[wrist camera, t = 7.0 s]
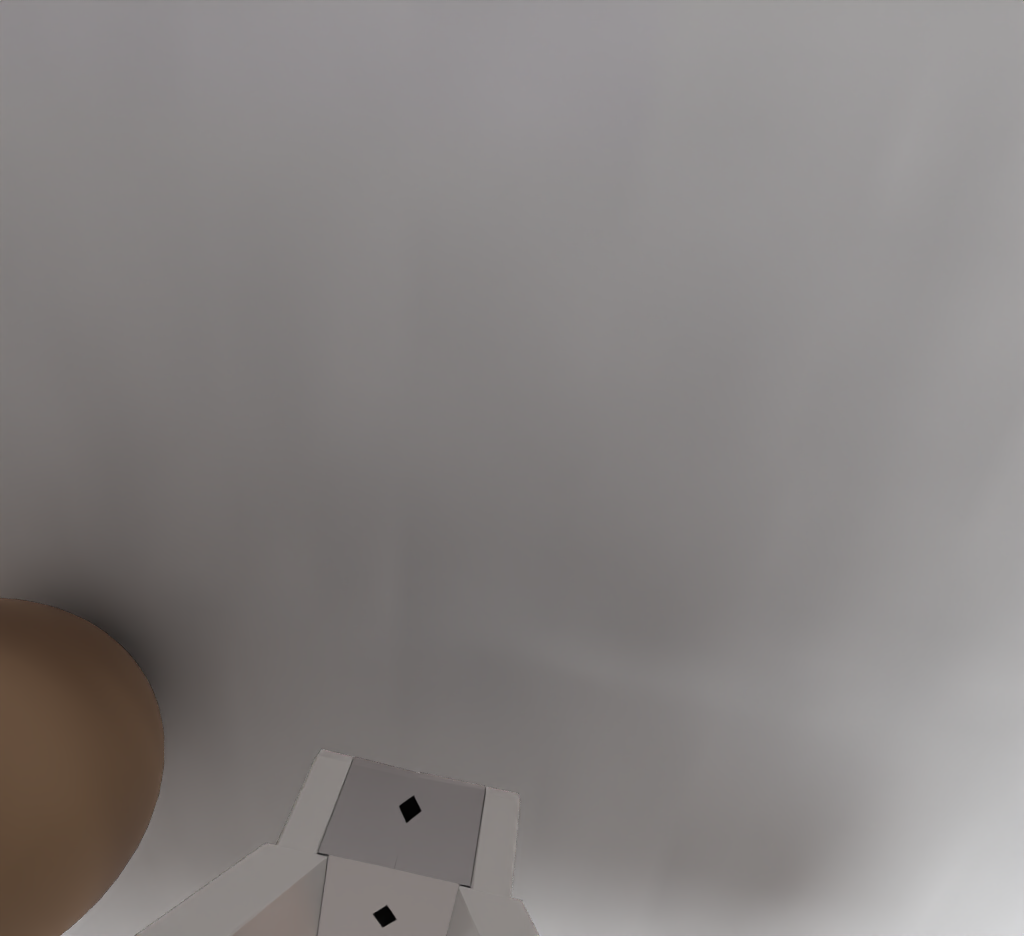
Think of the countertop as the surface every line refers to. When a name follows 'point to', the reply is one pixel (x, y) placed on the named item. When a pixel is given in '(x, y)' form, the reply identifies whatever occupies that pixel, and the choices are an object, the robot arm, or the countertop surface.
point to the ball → (69, 765)
